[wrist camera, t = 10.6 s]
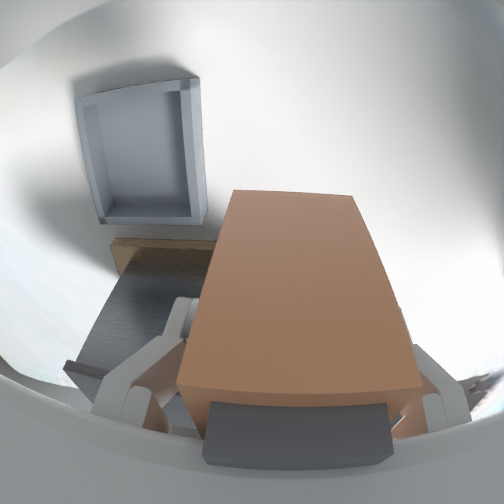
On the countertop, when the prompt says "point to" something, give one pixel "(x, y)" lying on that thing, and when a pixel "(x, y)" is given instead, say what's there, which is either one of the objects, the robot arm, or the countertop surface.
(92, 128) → the grey tray
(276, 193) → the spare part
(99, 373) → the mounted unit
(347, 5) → the countertop surface
